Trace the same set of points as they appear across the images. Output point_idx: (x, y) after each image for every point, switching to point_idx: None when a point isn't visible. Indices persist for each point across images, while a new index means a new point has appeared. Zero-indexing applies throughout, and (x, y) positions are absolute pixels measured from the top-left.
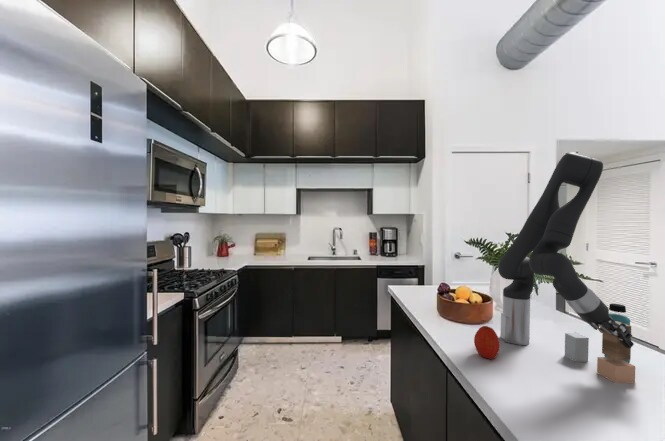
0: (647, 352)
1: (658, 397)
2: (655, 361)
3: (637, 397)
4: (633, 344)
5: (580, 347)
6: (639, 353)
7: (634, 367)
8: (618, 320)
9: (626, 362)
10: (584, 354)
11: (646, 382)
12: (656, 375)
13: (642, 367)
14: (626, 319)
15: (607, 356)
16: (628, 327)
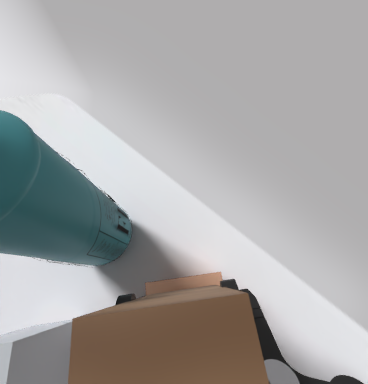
0: (47, 106)
1: (294, 276)
2: (92, 125)
3: (316, 349)
4: (248, 291)
5: (43, 376)
6: (49, 126)
7: (220, 274)
8: (3, 203)
9: (191, 280)
10: (65, 341)
11: (208, 237)
12: (164, 179)
13: (122, 178)
14: (15, 144)
15: (94, 264)
16: (254, 331)
